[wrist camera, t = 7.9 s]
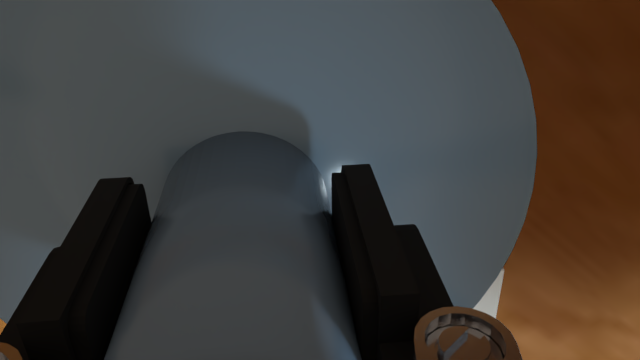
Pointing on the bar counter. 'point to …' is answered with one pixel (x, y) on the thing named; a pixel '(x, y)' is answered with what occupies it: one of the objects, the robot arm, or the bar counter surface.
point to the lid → (260, 155)
